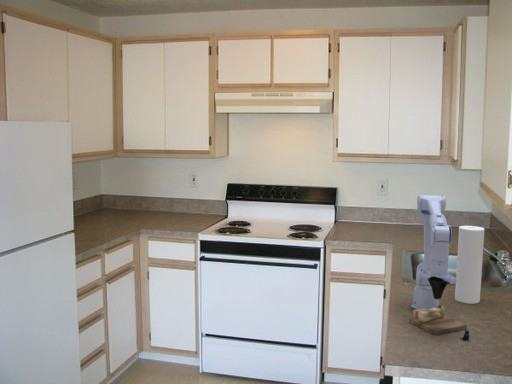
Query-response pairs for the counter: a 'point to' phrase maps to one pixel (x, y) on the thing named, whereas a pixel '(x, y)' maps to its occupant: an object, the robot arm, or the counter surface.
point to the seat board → (439, 325)
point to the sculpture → (466, 336)
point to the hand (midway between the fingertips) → (437, 298)
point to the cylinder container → (469, 264)
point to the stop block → (415, 313)
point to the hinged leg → (431, 313)
